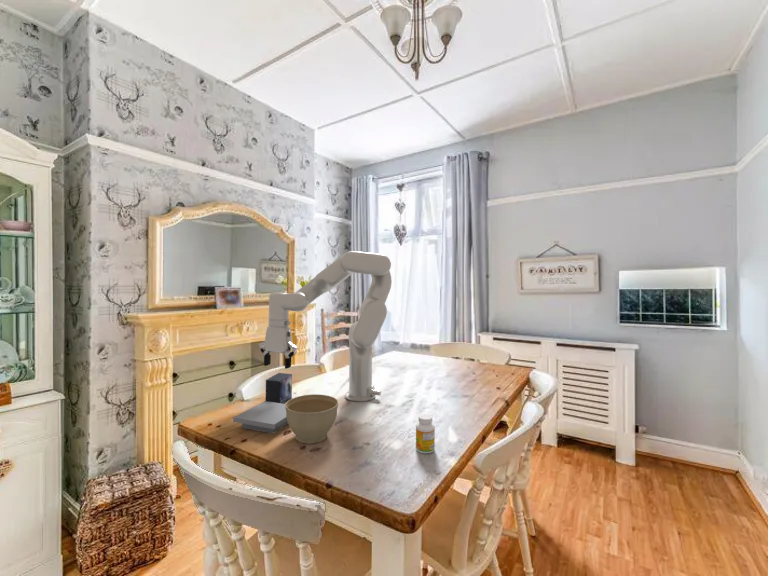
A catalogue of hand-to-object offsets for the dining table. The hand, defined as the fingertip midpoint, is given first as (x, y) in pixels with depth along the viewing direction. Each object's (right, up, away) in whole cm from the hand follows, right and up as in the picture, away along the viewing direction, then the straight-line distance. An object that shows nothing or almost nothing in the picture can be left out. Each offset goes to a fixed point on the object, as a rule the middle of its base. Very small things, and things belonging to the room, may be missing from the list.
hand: (277, 366), depth 137 cm
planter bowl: (+20, -16, -29) cm, 39 cm away
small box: (+1, -15, +1) cm, 15 cm away
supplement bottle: (+54, -16, -37) cm, 68 cm away
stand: (+3, -15, -19) cm, 25 cm away
